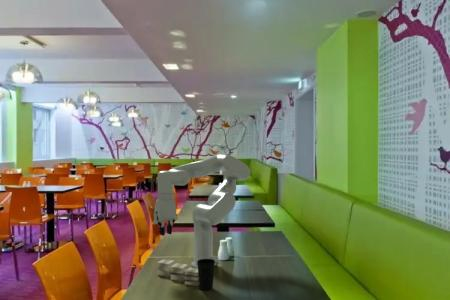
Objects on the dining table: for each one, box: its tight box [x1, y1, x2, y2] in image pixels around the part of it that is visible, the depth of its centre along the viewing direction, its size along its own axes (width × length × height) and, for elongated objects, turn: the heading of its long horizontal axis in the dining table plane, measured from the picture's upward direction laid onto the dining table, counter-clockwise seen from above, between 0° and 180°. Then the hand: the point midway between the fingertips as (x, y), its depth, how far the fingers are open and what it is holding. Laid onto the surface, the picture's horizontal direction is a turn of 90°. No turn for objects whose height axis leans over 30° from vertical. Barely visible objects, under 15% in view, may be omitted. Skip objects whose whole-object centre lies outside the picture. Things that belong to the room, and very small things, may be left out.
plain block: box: [156, 258, 175, 277], centre depth 204 cm, size 6×6×6 cm
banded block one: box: [170, 262, 189, 282], centre depth 198 cm, size 6×6×6 cm
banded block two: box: [183, 267, 199, 287], centre depth 191 cm, size 6×6×6 cm
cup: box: [197, 259, 216, 292], centre depth 183 cm, size 8×8×12 cm
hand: (165, 234), depth 204 cm, fingers open, 3 cm apart
